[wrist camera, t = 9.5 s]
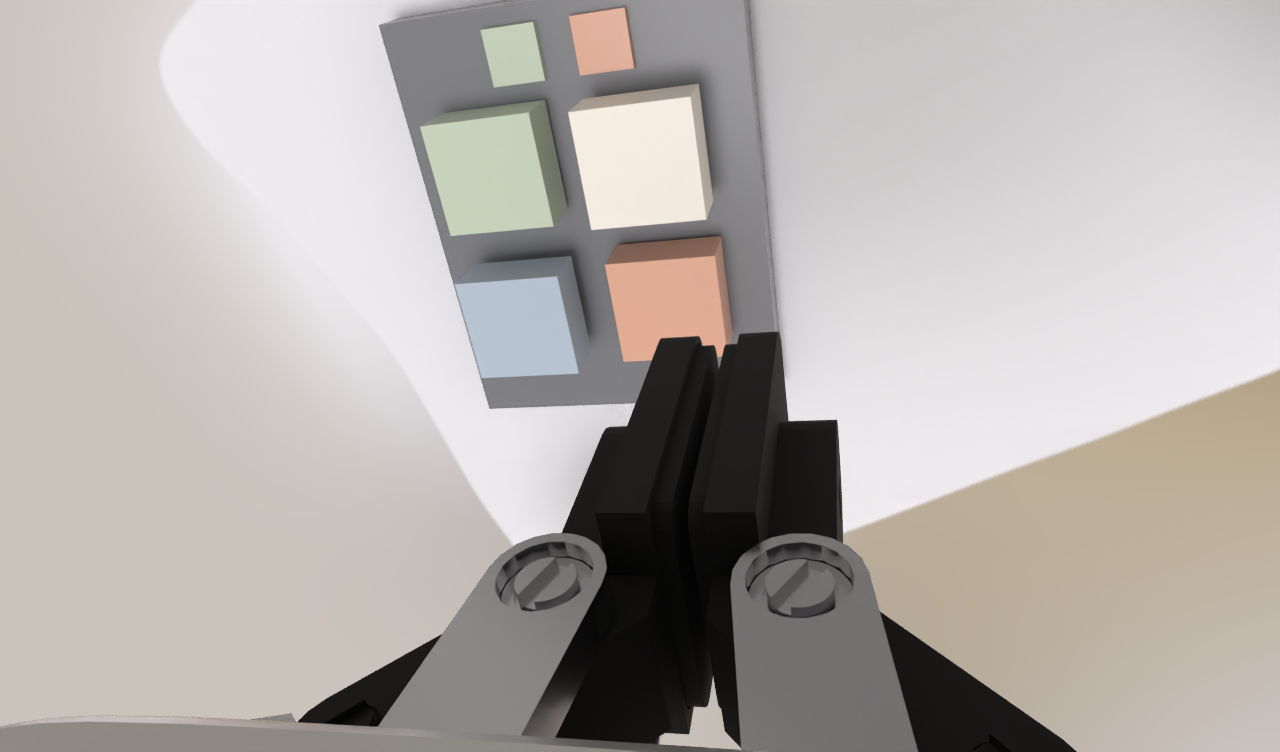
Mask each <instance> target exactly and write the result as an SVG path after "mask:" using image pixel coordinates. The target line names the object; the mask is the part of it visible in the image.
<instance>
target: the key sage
mask: <svg viewBox="0 0 1280 752" xmlns="http://www.w3.org/2000/svg"><path fill="white" fill-rule="evenodd" d="M420 129H421V132H422V136H423V139H424V143H425V146H426V150H427V154H428V157H429V161H430V164H431V168H432V171H433V175H434V178H435V182H436V185H437V189H438V193H439V196H440V200H441V203H442V207H443V210H444V214H445V217H446V221H447V224H448V228H449V232H450V235H451V236H457V235H467V234H478V233H489V232H500V231H511V230H521V229H532V228H543V227H554V225H555V224H556V223H557V222H558V220H559V219H560V218H561V216H562V215H563V214H564V213H565V211H566V210H567V209H568V207H567V202H566V198H565V193H564V188H563V183H562V178H561V174H560V169H559V164H558V159H557V155H556V150H555V145H554V140H553V136H552V131H551V126H550V121H549V116H548V112H547V107H546V102H545V100H538V101H531V102H523V103H516V104H508V105H501V106H493V107H485V108H478V109H470V110H463V111H455V112H448V113H441V114H440V115H438V116H436V117H435V118H433V119H431V120H430V121H428V122H427V123H425V124H423V125H422V126H420Z"/></svg>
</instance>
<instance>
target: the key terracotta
mask: <svg viewBox="0 0 1280 752" xmlns="http://www.w3.org/2000/svg"><path fill="white" fill-rule="evenodd" d="M605 268H606V273H607V279H608V284H609V289H610V294H611V299H612V304H613V309H614V315H615V320H616V325H617V330H618V335H619V340H620V345H621V351H622V356H623V361H624V362H629V361H649V360H652V358H653V356H654V353H655V350H656V348H657V345H658V342H659V340H660V339H661V338H672V337H690V336H699V337H700V338H701V341H702V345H703V346H706V345H714V346H715V348H716V353H717V357H722V354H723V350H724V346H725V344H731V339H732V334H733V330H732V322H731V314H730V306H729V297H728V289H727V281H726V273H725V265H724V257H723V248H722V240H721V236H716V237H704V238H692V239H680V240H669V241H657V242H645V243H634V244H622V245H616V246H615V248H614V250H613V252H612V253H611V255H610V257H609V258H608V260H607V262H606V264H605Z"/></svg>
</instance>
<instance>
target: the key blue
mask: <svg viewBox="0 0 1280 752" xmlns="http://www.w3.org/2000/svg"><path fill="white" fill-rule="evenodd" d="M455 288H456V291H457V295H458V298H459V302H460V305H461V309H462V312H463V315H464V319H465V322H466V326H467V329H468V333H469V336H470V340H471V343H472V347H473V350H474V354H475V357H476V361H477V364H478V367H479V371H480V374H481V378H496V377H517V376H538V375H559V374H579V372H580V370H581V368H582V366H583V364H584V362H585V360H586V359H587V357H588V355H589V353H590V351H591V347H590V342H589V338H588V333H587V328H586V324H585V319H584V314H583V310H582V305H581V300H580V296H579V291H578V286H577V282H576V277H575V272H574V267H573V263H572V258H571V256H565V257H553V258H541V259H529V260H517V261H505V262H493V263H481V264H473V265H472V266H471V267H470V268H469V269H468V270H467V271H466V272H465V274H464V275H463V276H462V277H461V278H460V279H459V280H458V281H457V282H456V283H455Z"/></svg>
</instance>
